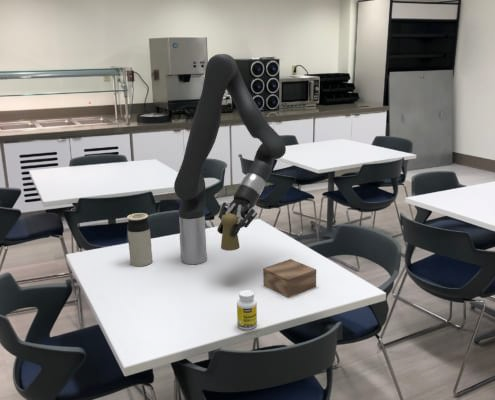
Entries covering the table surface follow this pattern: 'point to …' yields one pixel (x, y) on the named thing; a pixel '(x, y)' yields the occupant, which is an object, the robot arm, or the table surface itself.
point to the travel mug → (139, 239)
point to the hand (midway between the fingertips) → (225, 234)
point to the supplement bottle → (246, 310)
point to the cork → (227, 240)
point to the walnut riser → (289, 277)
